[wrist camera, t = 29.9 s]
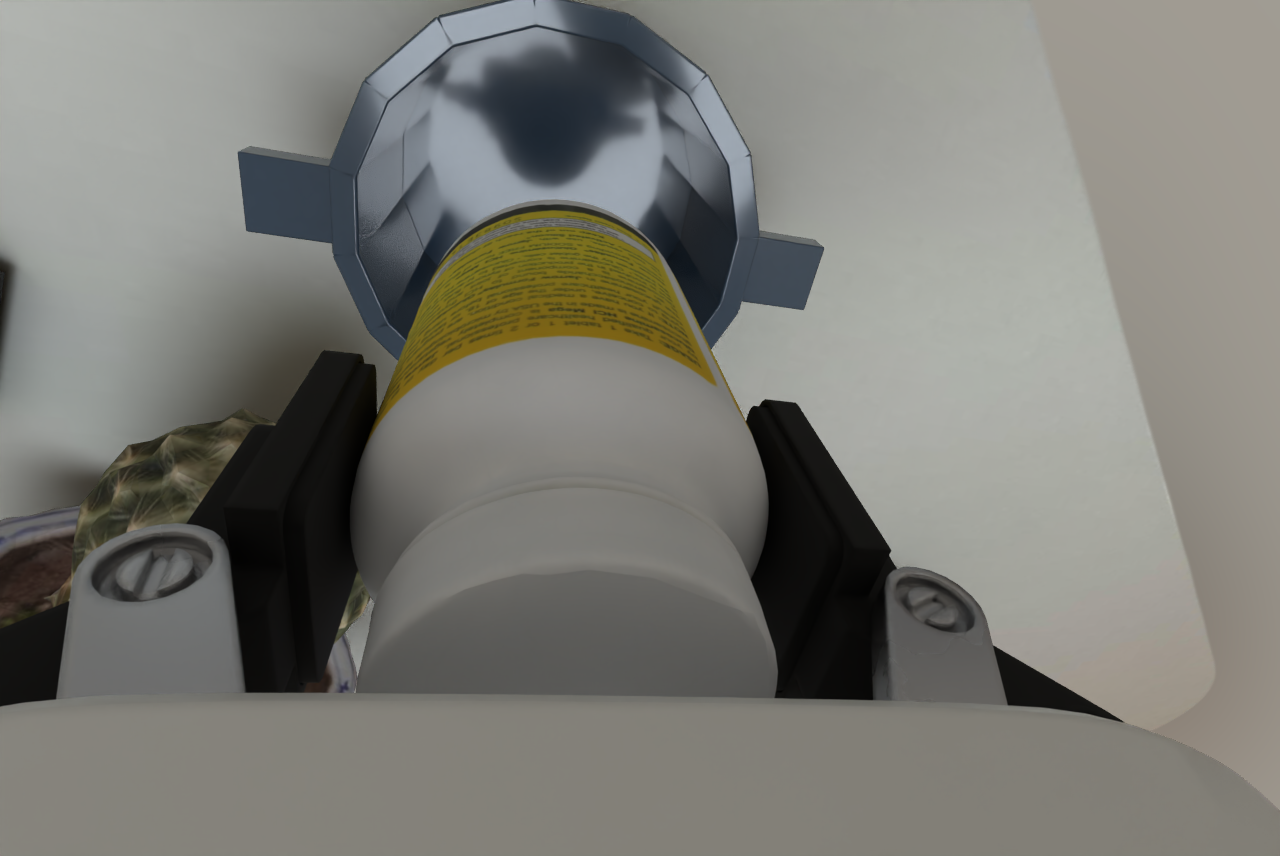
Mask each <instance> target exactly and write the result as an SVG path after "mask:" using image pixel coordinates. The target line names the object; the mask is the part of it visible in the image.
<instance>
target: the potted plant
mask: <svg viewBox="0 0 1280 856" xmlns="http://www.w3.org/2000/svg"><path fill="white" fill-rule="evenodd" d="M258 424H264V425H276V424H277V423H274V422H271V421H269V420H266V419H264V418H260V417H258V416H257V415H255V414H253V413H252V412H250V411H248V410H247V409H245V408H243V409H241V410H239V411H238V412H236V413H234V414H233V415H231V416H230V417H228V418H226V419H225V420H223V421H218V422H213V423H206V424H199V425H191V426H184V427H180V428H178V429H176V430H173V431H171V432H169V433H167V434H165V435H163V436H161V437H159V438H157V439H155V440H153V441H148V442H142V443H137V444H132V445H128V446H127V447H126V448H125V450H124V451H123V452H122V453H121V454H120V455H119V456H118V458H117V459H116V460H115V461H114V462H113V463H112V464H111V466H110V467H109V468H108V469H107V470H106V471H105V472H104V474H103V476H102V478H101V479H100V481H99V483H98V484H97V486H96V487H95V489H94V490H93V491H92V492H91V493H90V494H89V495H88V497H87V498H86V499H85V500H84V501H83V502H82V504H81V506H76V507H66V508H56V509H51V510H48V511H45V512H41V513H38V514H35V515H31V516H26V517H11V518H6V519H3V520H0V629H1V628H3V627H6V626H8V625H11V624H13V623H16V622H18V621H21V620H23V619H25V618H28V617H30V616H33V615H35V614H38V613H40V612H43V611H45V610H48V609H50V608H53V607H55V606H58V605H60V604H63V603H65V602H68V601H70V593H71V586H72V580H73V577H74V575H75V572H76V570H77V567H78V565H79V564H80V563H81V562H82V561H83V560H84V559H85V558H86V557H87V556H88V555H89V554H90V553H91V552H92V551H93V550H95V549H96V548H98V547H99V546H101V545H102V544H104V543H106V542H107V541H109V540H110V539H113V538H115V537H118V536H120V535H122V534H125V533H127V532H130V531H132V530H136V529H141V528H145V527H149V526H153V525H162V524H175V523H179V524H186V523H187V521H188V520H189V518H190V517H191V516H192V514H193V513H194V511H195V510H196V508H197V507H198V505H199V504H200V502H201V501H202V500H203V498H204V497H205V495H206V494H207V492H208V491H209V489H210V488H211V487H212V485H213V484H214V482H215V481H216V479H217V478H218V476H219V475H220V474H221V472H222V471H223V469H224V468H225V466H226V465H227V463H228V462H229V460H230V459H231V458H232V456H233V455H234V453H235V452H236V450H237V449H238V447H239V446H240V445H241V443H242V442H243V440H244V439H245V437H246V436H247V434H248V433H249V432H250V430H251V429H252V428H253V427H254V426H255V425H258ZM369 599H370V595H369V593H368V591H367V589H366V587H365V585H364V583H363V581H362V579H361V576H360V573H359V570H358V571H357V574H356V578H355V581H354V584H353V587H352V590H351V593H350V596H349V599H348V602H347V605H346V608H345V611H344V614H343V617H342V620H341V623H340V626H339V630H338V633H337V636H336V639H335V642H334V645H333V648H332V651H331V654H330V657H329V660H328V663H327V666H326V669H325V672H324V675H323V678H322V680H321V681H320V682H319V683H307V685H306V688H305V691H304V693H354V691H355V687H356V683H357V672H356V667H355V664H354V661H353V658H352V655H351V651H350V645H349V642H348V640H347V637H346V635H345V632H346V631H347V629H348V628H349V626H350V625H351V624H352V623H353V622H354V621H355V620H356V619H358V618H359V617H360V616H361V615H362V614H363V612H364V610H365V608H366V606H367V603H368V601H369Z"/></svg>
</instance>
